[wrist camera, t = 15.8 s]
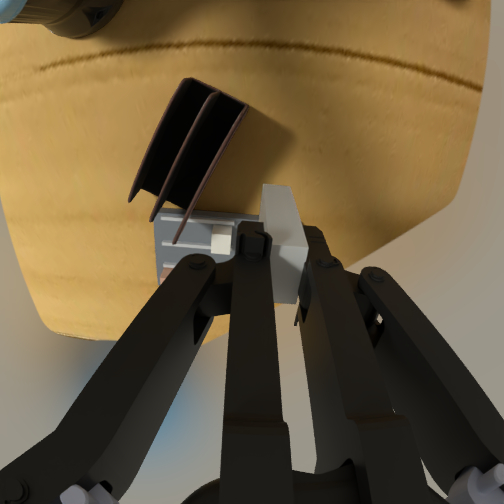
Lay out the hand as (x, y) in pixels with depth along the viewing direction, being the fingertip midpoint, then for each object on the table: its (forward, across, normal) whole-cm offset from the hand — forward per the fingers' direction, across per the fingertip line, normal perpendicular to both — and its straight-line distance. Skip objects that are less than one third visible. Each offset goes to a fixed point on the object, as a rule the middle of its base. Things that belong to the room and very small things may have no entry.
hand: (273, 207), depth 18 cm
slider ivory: (+30, -4, -18) cm, 36 cm away
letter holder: (+33, -10, -5) cm, 35 cm away
